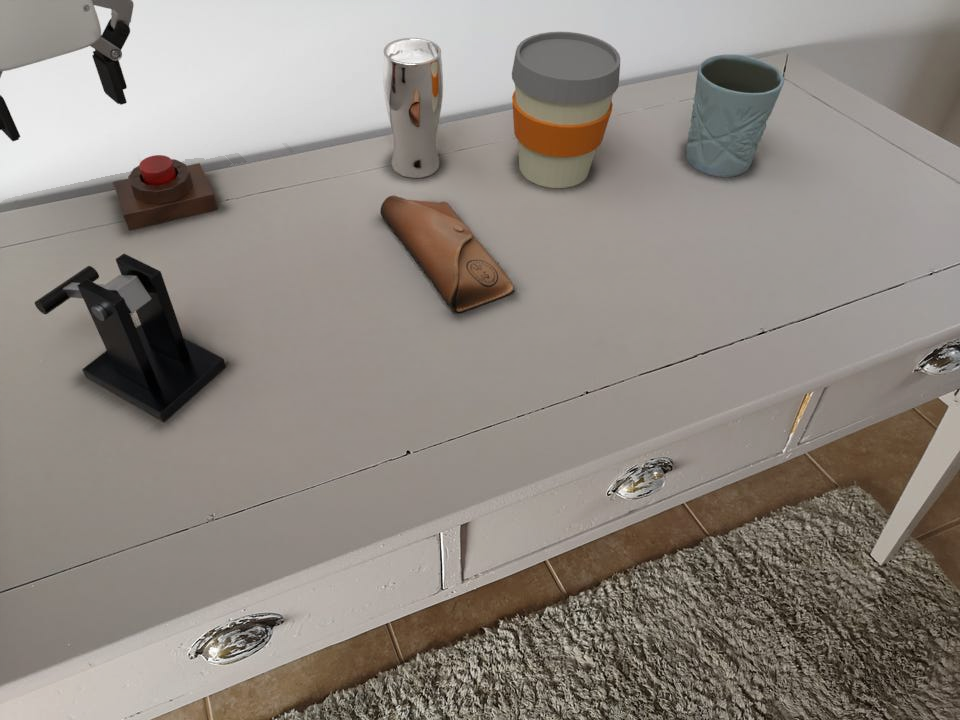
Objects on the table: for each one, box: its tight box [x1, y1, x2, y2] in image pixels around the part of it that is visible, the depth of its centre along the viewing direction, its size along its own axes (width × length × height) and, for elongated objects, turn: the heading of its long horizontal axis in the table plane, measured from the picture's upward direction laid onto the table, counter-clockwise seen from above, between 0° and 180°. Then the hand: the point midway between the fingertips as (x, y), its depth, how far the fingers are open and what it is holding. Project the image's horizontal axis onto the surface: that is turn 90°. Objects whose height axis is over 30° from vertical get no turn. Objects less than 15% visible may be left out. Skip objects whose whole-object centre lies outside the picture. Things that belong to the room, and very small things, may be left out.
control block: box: [112, 158, 219, 231], centre depth 90 cm, size 10×7×4 cm
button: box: [138, 154, 176, 185], centre depth 88 cm, size 4×4×2 cm
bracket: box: [77, 253, 227, 422], centre depth 69 cm, size 10×8×12 cm
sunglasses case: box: [379, 194, 516, 313], centre depth 86 cm, size 18×7×7 cm
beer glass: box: [382, 37, 444, 179], centre depth 93 cm, size 7×7×15 cm
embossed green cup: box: [685, 54, 785, 178], centre depth 98 cm, size 10×10×12 cm
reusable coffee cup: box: [511, 31, 621, 189], centre depth 94 cm, size 13×12×15 cm
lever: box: [34, 265, 152, 315], centre depth 69 cm, size 12×6×2 cm, turn 60°
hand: (65, 115), depth 70 cm, fingers open, 9 cm apart
